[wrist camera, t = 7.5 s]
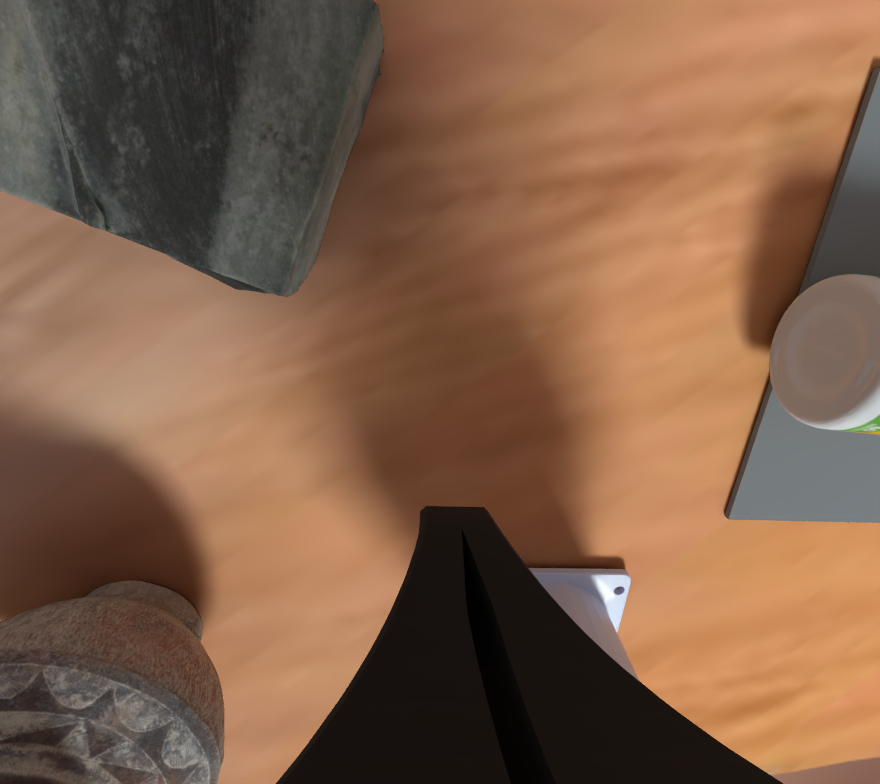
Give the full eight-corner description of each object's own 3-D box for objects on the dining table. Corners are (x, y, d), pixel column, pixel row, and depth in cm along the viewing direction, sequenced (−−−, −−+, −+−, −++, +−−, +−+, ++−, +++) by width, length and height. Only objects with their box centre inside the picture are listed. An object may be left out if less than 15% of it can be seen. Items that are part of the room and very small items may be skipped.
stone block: (306, 303, 20) (273, 346, 15) (-128, 139, 17) (-344, 127, 12) (388, 47, 17) (380, -4, 12) (-126, -208, 14) (-414, -414, 9)
